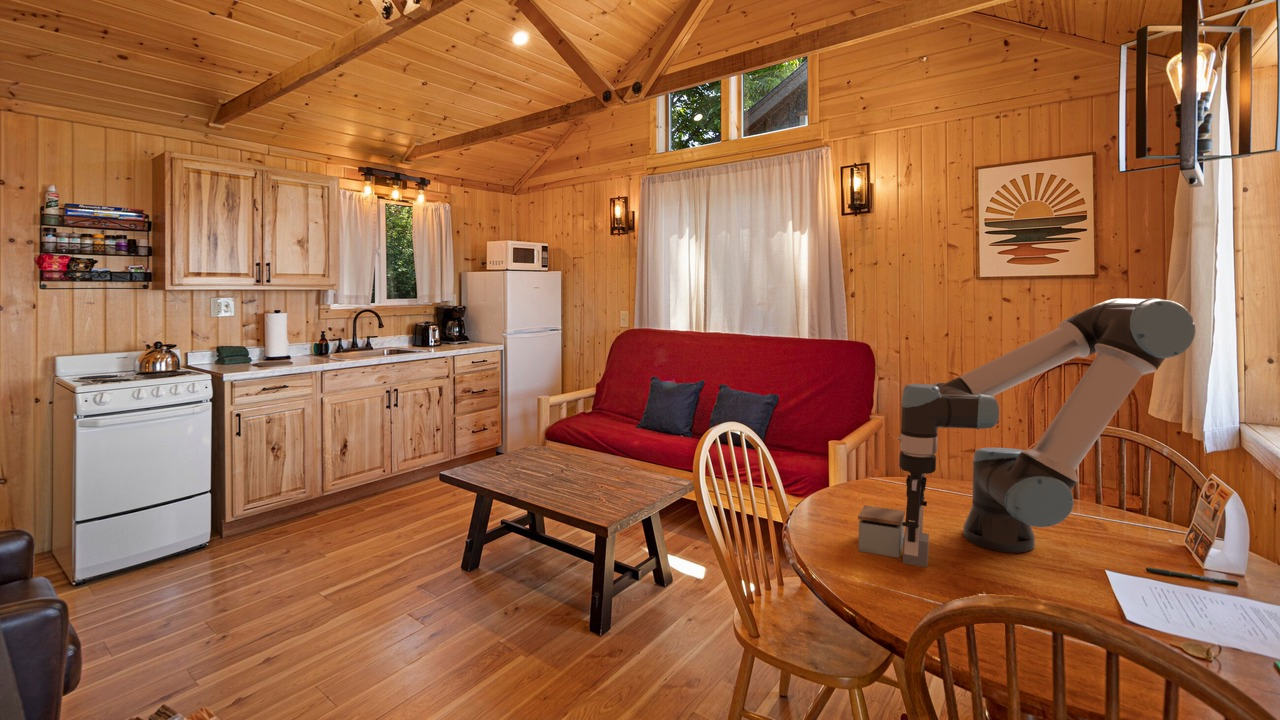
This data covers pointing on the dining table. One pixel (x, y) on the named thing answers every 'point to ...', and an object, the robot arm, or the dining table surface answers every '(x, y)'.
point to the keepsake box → (880, 538)
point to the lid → (881, 515)
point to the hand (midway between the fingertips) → (913, 543)
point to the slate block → (922, 552)
